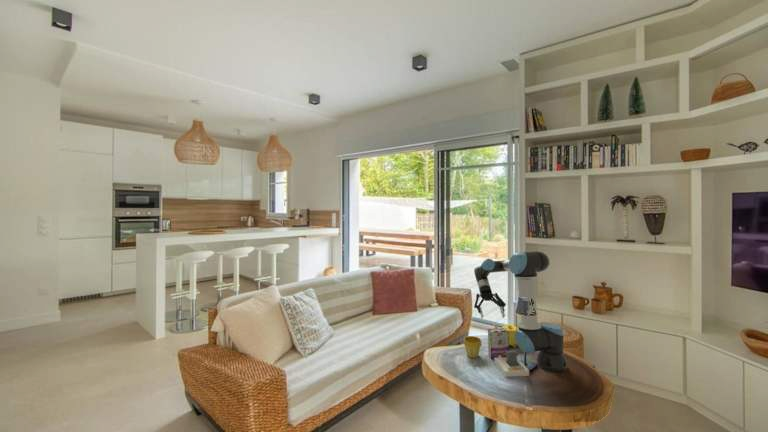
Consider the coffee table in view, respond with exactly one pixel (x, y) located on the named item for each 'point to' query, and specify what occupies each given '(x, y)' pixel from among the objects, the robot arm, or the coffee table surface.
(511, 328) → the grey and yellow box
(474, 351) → the plant pot
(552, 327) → the robot arm
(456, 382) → the coffee table surface
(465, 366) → the coffee table surface
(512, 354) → the block
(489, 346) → the candy bar box
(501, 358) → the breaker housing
